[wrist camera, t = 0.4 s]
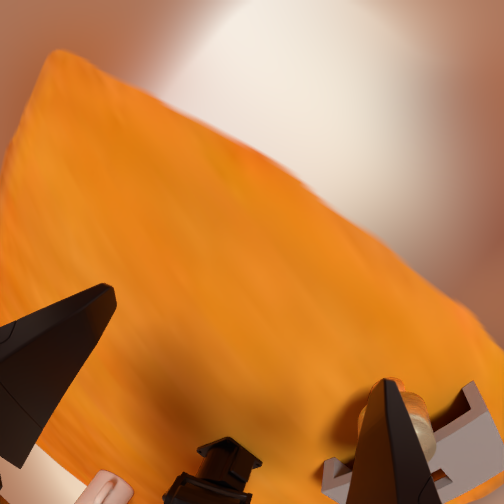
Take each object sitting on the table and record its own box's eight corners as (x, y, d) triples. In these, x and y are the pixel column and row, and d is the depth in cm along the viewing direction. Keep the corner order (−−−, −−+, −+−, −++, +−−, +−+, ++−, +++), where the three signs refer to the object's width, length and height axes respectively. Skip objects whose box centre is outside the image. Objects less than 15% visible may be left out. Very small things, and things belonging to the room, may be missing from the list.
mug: (132, 498, 47) (110, 532, 37) (98, 477, 48) (74, 509, 38) (138, 481, 43) (112, 521, 33) (100, 457, 44) (71, 494, 34)
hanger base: (381, 502, 32) (381, 527, 28) (324, 461, 31) (321, 492, 27) (501, 440, 25) (511, 464, 21) (473, 380, 25) (488, 410, 20)
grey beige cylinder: (375, 421, 28) (380, 486, 20) (343, 388, 28) (343, 457, 20) (427, 391, 26) (446, 455, 18) (399, 353, 26) (418, 420, 17)
